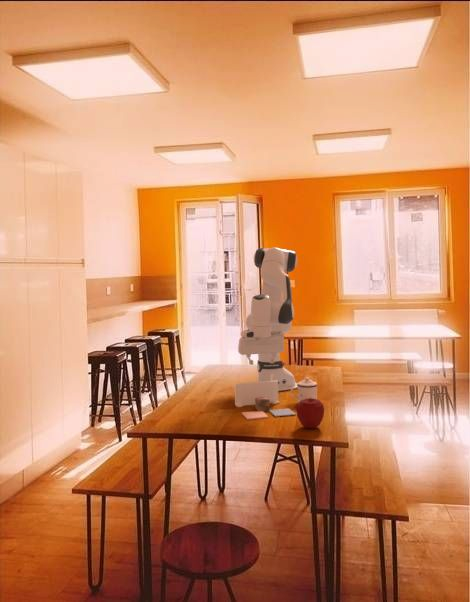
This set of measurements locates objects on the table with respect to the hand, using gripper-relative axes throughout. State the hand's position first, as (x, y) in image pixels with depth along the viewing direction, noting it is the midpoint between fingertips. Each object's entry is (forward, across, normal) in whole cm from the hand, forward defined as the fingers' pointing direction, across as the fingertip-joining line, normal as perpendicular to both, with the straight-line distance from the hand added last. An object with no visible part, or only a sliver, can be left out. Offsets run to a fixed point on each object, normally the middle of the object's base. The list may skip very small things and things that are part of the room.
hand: (261, 363), depth 224 cm
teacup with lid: (+20, -21, -4) cm, 30 cm away
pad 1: (+20, +6, +9) cm, 23 cm away
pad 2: (+20, -6, +9) cm, 23 cm away
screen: (+20, 0, -9) cm, 22 cm away
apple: (+20, -10, +30) cm, 38 cm away
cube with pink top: (+20, 0, 0) cm, 20 cm away
